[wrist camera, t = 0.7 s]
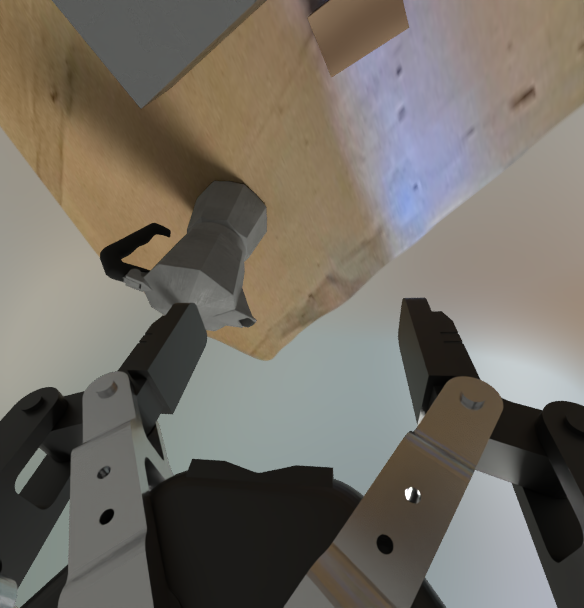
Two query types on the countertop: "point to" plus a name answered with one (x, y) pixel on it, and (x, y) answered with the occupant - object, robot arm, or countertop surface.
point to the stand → (154, 37)
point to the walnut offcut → (355, 29)
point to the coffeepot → (200, 257)
